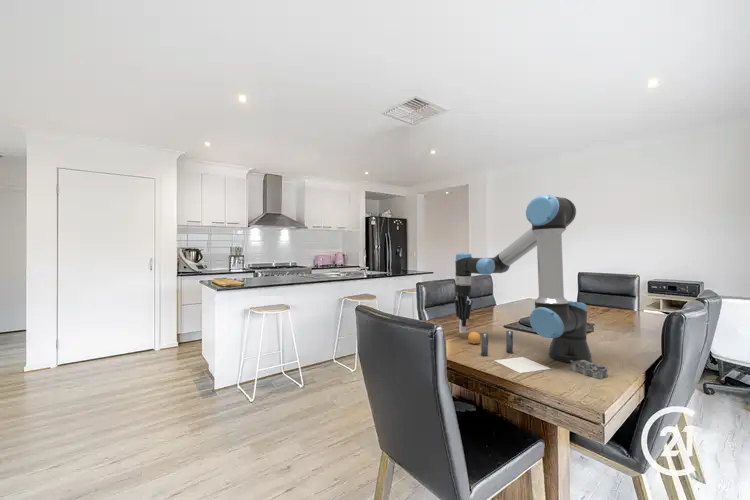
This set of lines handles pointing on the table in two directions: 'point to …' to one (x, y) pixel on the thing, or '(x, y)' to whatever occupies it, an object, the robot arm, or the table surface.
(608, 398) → the table surface
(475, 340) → the ball
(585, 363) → the egg carton
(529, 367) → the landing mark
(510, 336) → the post right
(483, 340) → the post left
